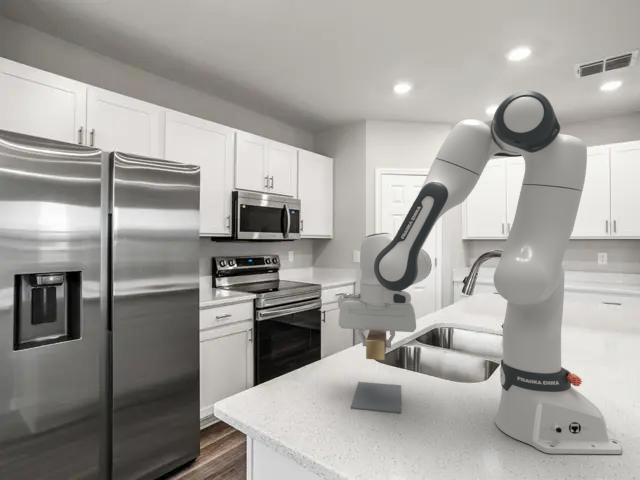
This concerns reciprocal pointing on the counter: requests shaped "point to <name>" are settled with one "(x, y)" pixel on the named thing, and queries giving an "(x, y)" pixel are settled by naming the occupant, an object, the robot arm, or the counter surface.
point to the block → (376, 345)
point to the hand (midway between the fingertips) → (376, 346)
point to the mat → (377, 397)
